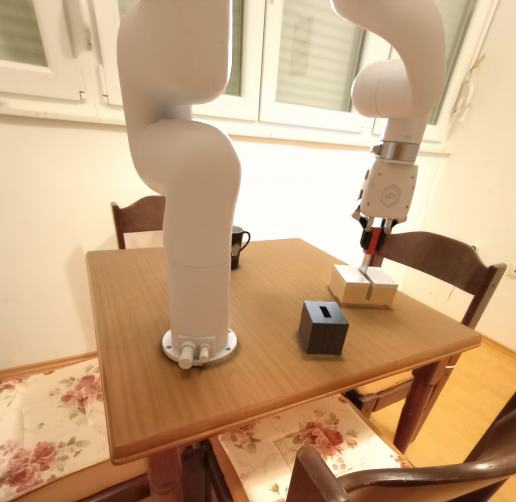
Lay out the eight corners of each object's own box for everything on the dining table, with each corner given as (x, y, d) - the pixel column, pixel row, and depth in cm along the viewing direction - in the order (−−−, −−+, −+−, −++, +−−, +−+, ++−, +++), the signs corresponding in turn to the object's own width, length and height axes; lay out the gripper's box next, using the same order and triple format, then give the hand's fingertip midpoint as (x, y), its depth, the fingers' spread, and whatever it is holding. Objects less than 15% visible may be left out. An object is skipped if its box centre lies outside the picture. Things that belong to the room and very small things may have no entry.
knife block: (339, 359, 54) (349, 324, 50) (305, 358, 53) (312, 322, 49) (328, 334, 60) (336, 302, 56) (297, 333, 60) (303, 300, 56)
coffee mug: (213, 271, 82) (213, 232, 77) (208, 260, 89) (208, 224, 84) (255, 270, 85) (258, 233, 80) (248, 260, 92) (250, 225, 87)
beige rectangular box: (390, 308, 72) (398, 284, 69) (340, 306, 71) (346, 281, 68) (372, 289, 81) (379, 267, 78) (328, 287, 80) (333, 264, 77)
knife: (363, 292, 75) (383, 228, 67) (356, 291, 75) (374, 227, 67) (359, 287, 78) (377, 224, 69) (352, 286, 77) (369, 224, 69)
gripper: (363, 151, 57) (340, 251, 67) (445, 159, 58) (410, 256, 68) (350, 149, 63) (331, 241, 73) (425, 157, 64) (396, 246, 74)
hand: (369, 248), depth 71 cm, fingers closed on knife, 2 cm apart
